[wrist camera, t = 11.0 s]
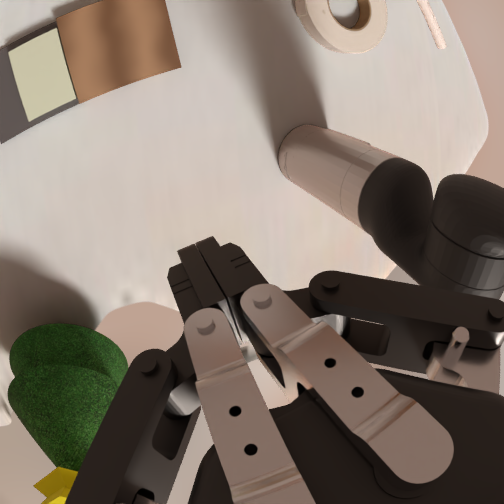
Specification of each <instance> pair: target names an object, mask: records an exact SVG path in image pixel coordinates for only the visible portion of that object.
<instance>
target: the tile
mask: <svg viewBox="0 0 504 504" xmlns="http://www.w3.org/2000/svg"><path fill="white" fill-rule="evenodd" d="M8 54H9V58H10V62H11V66H12V69H13V73H14V77H15V80H16V83H17V87H18V90H19V93H20V97H21V100H22V103H23V106H24V109H25V112H26V115H27V118H28V121H29V122H30V121H32V120H33V119H35V118H37V117H39V116H41V115H43V114H45V113H47V112H49V111H51V110H53V109H55V108H57V107H59V106H61V105H63V104H65V103H68V102H70V101H72V100H74V99H76V98H77V94H76V91H75V88H74V85H73V81H72V78H71V75H70V71H69V68H68V64H67V60H66V57H65V53H64V49H63V45H62V41H61V37H60V33H59V30H58V29H57V28H55V29H53V30H51V31H49V32H46V33H44V34H42V35H40V36H38V37H36V38H34V39H32V40H30V41H28V42H26V43H24V44H22V45H21V46H19V47H17V48H15V49H13V50H11V51H10V52H8Z"/></svg>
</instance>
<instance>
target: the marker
mask: <svg viewBox="0 0 504 504" xmlns="http://www.w3.org/2000/svg"><path fill="white" fill-rule="evenodd" d="M417 2H418V4H419V6H420V9H421V11H422V13H423V15H424V17H425V19H426V22H427V24H428V26H429V28H430V31H431V33H432V35H433V38H434V40H435V43H436V45H437V47H438V48H439V49H444V48H446V43H445V40H444V38H443V35H442V33H441V30H440V27H439V25H438V23H437V21H436V18H435V16H434V14H433V11H432V9H431V7H430V5H429V3H428V1H427V0H417Z"/></svg>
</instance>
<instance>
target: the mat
mask: <svg viewBox="0 0 504 504" xmlns="http://www.w3.org/2000/svg"><path fill="white" fill-rule="evenodd" d="M55 28H57V29H58V25H57V21H56V22H54V23H52V24H49V25H47V26H45V27H43V28H41V29H39V30H37V31H35V32H33V33H31V34H29V35H27V36H25V37H23V38H21V39H19V40H17V41H15V42H14V43H12V44H10V45H8V46H6V47H5V48H3V49H1V50H0V142H1V144H2V143H4V142H6V141H7V140H9V139H11V138H12V137H14V136H16V135H18V134H19V133H21V132H23V131H25V130H27V129H29V128H30V127H32V126H34V125H36V124H38V123H40V122H42V121H44V120H46V119H48V118H50V117H52V116H54V115H56V114H58V113H60V112H62V111H64V110H66V109H68V108H71V107H73V106H75V105H77V104H79V101H78V98H76V99H74V100H72V101H70V102H68V103H65V104H63V105H61V106H59V107H57V108H55V109H53V110H51V111H49V112H47V113H45V114H43V115H41V116H39V117H37V118H35V119H33V120H32V121H30V122H29V121H28V118H27V115H26V112H25V109H24V106H23V103H22V100H21V97H20V93H19V90H18V87H17V83H16V80H15V77H14V73H13V69H12V66H11V62H10V58H9V54H8V52H10V51H11V50H13V49H15V48H17V47H19V46H21V45H22V44H24V43H26V42H28V41H30V40H32V39H34V38H36V37H38V36H40V35H42V34H44V33H46V32H49V31H51V30H53V29H55ZM58 30H59V29H58Z"/></svg>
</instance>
